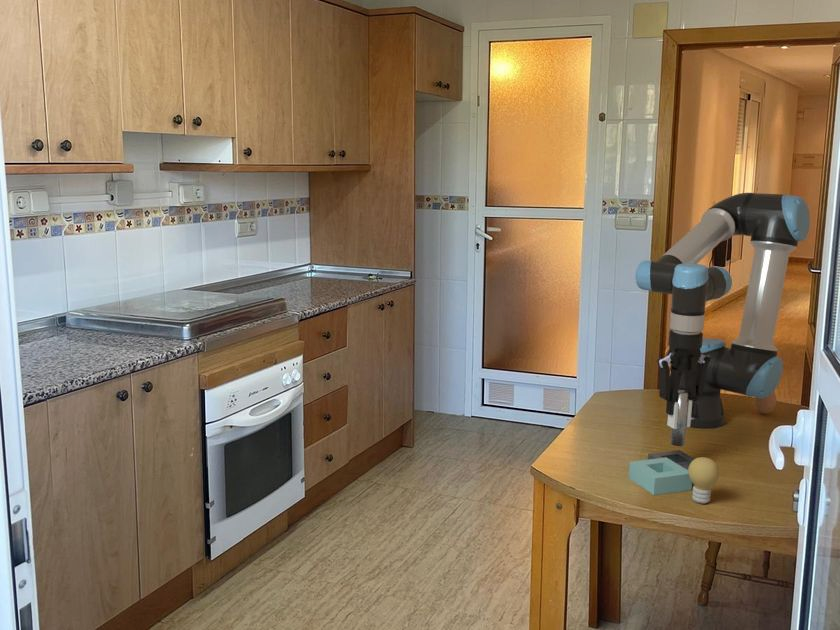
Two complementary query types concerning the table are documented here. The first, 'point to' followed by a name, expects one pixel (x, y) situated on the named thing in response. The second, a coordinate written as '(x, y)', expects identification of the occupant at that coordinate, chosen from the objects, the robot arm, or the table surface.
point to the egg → (766, 403)
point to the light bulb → (702, 478)
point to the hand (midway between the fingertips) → (678, 425)
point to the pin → (680, 419)
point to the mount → (674, 457)
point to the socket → (660, 476)
